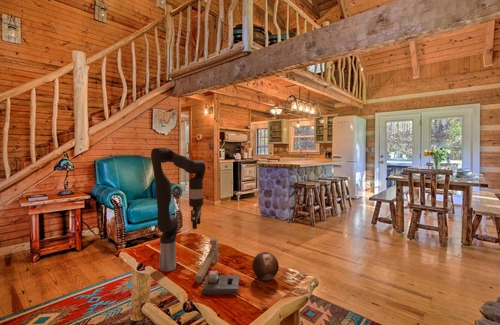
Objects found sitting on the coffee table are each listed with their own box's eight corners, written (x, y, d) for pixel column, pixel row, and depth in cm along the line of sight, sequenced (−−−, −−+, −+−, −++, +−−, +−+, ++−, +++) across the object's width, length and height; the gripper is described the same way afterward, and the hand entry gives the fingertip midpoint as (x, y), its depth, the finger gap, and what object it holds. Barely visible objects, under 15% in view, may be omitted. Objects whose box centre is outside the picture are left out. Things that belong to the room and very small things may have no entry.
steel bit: (209, 288, 134) (209, 274, 133) (210, 284, 138) (210, 270, 137) (216, 288, 134) (216, 274, 133) (217, 284, 138) (217, 270, 137)
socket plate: (202, 294, 129) (202, 288, 128) (207, 280, 143) (207, 274, 142) (237, 294, 128) (237, 288, 128) (239, 280, 142) (239, 275, 142)
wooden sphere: (259, 288, 134) (259, 260, 134) (248, 275, 148) (248, 250, 147) (283, 282, 140) (283, 255, 140) (270, 270, 154) (270, 246, 153)
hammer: (201, 268, 136) (217, 237, 165) (193, 267, 137) (210, 237, 166) (203, 292, 141) (219, 258, 169) (195, 291, 142) (212, 257, 170)
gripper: (192, 194, 144) (192, 222, 144) (185, 199, 129) (186, 230, 130) (205, 194, 144) (205, 222, 144) (200, 199, 129) (200, 230, 130)
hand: (196, 226), depth 137 cm, fingers open, 8 cm apart
